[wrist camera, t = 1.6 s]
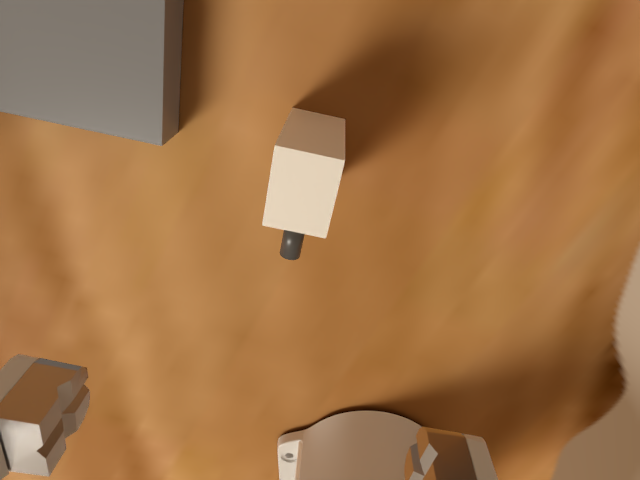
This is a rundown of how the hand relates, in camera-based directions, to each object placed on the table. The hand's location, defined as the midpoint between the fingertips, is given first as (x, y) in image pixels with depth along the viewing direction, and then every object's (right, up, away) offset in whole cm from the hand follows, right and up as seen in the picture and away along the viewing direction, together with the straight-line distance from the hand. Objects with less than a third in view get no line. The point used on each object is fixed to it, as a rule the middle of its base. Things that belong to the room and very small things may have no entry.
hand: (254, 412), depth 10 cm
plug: (+1, +10, +19) cm, 21 cm away
